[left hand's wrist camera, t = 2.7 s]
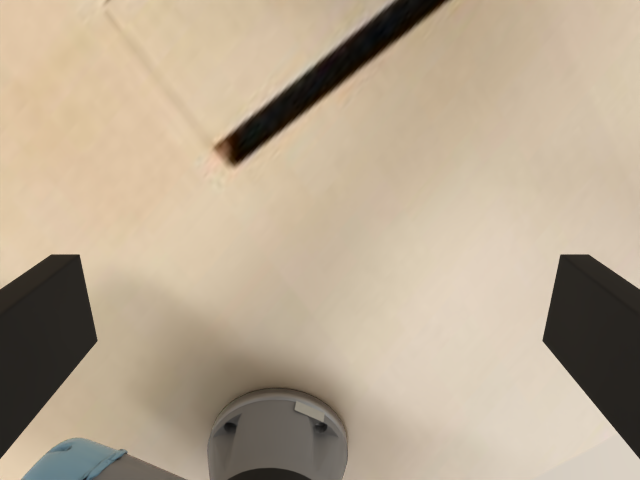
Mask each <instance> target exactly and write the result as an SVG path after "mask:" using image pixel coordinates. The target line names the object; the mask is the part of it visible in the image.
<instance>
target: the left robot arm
mask: <svg viewBox="0 0 640 480" xmlns="http://www.w3.org/2000/svg"><path fill="white" fill-rule="evenodd" d="M96 342H97V336H96V331H95V326H94V322H93V317H92V312H91V307H90V303H89V298H88V293H87V288H86V283H85V279H84V274H83V269H82V264H81V260H80V255H50V256H49V257H47V258H46V259H44V260H43V261H41V262H40V263H38V264H37V265H35V266H34V267H33V268H31V269H30V270H28V271H27V272H25V273H24V274H22V275H21V276H19V277H18V278H16V279H15V280H14V281H12V282H11V283H9V284H8V285H6V286H5V287H3V288H2V289H0V459H1V457H2V456H3V455H4V454H5V453H6V451H7V450H8V449H9V448H10V446H11V445H12V444H13V443H14V442H15V440H16V439H17V438H18V437H19V436H20V434H21V433H22V432H23V431H24V429H25V428H26V427H27V426H28V425H29V423H30V422H31V421H32V420H33V419H34V417H35V416H36V415H37V414H38V412H39V411H40V410H41V409H42V408H43V406H44V405H45V404H46V403H47V402H48V400H49V399H50V398H51V397H52V395H53V394H54V393H55V392H56V391H57V389H58V388H59V387H60V386H61V385H62V383H63V382H64V381H65V380H66V378H67V377H68V376H69V375H70V374H71V372H72V371H73V370H74V369H75V368H76V366H77V365H78V364H79V363H80V361H81V360H82V359H83V358H84V357H85V355H86V354H87V353H88V352H89V351H90V349H91V348H92V347H93V346H94V344H95V343H96ZM543 342H544V343H545V344H546V346H547V347H548V348H549V349H550V351H551V352H552V353H553V354H554V355H555V357H556V358H557V359H558V360H559V361H560V363H561V364H562V365H563V366H564V368H565V369H566V370H567V371H568V372H569V374H570V375H571V376H572V377H573V378H574V380H575V381H576V382H577V383H578V385H579V386H580V387H581V388H582V389H583V391H584V392H585V393H586V394H587V395H588V397H589V398H590V399H591V400H592V402H593V403H594V404H595V405H596V406H597V408H598V409H599V410H600V411H601V412H602V414H603V415H604V416H605V417H606V419H607V420H608V421H609V422H610V423H611V425H612V426H613V427H614V428H615V429H616V431H617V432H618V433H619V434H620V436H621V437H622V438H623V439H624V440H625V442H626V443H627V444H628V445H629V446H630V448H631V449H632V450H633V451H634V452H635V454H636V455H637V456H638V457H639V459H640V289H638V288H637V287H635V286H634V285H632V284H631V283H629V282H628V281H626V280H625V279H624V278H622V277H621V276H619V275H618V274H616V273H615V272H613V271H612V270H610V269H609V268H607V267H606V266H605V265H603V264H602V263H600V262H599V261H597V260H596V259H594V258H593V257H591V256H590V255H560V260H559V264H558V269H557V274H556V279H555V283H554V288H553V293H552V298H551V303H550V307H549V312H548V317H547V322H546V326H545V331H544V336H543ZM207 451H208V465H209V475H210V480H342V478H343V475H344V471H345V468H346V464H347V458H348V449H347V437H346V432H345V429H344V426H343V424H342V422H341V420H340V419H339V417H338V416H337V414H336V413H335V412H334V411H333V410H332V409H331V408H330V407H329V406H328V405H326V404H325V403H324V402H322V401H321V400H319V399H317V398H315V397H313V396H311V395H309V394H306V393H303V392H300V391H296V390H291V389H281V388H273V389H263V390H258V391H254V392H250V393H248V394H245V395H243V396H241V397H239V398H237V399H235V400H234V401H232V402H231V403H230V404H228V405H227V406H226V407H225V408H224V409H223V410H222V411H221V413H220V414H219V415H218V417H217V418H216V420H215V423H214V425H213V428H212V431H211V435H210V438H209V442H208V450H207ZM127 453H128V451H126V450H124V449H120V450H116V449H113V448H110V447H107V446H104V445H102V444H99V443H96V442H93V441H91V440H88V439H84V438H72V439H68V440H66V441H63V442H61V443H59V444H58V445H56V446H55V447H53V448H52V449H51V450H50V451H48V452H47V453H46V454H45V455H44V456H43V457H42V458H41V459H40V460H39V461H38V462H37V463H36V464H35V465H34V466H33V467H32V468H31V469H30V470H29V471H28V472H27V473H26V474H25V476H24V477H23V478H22V479H21V480H186V479H184V478H182V477H179V476H177V475H175V474H172V473H170V472H168V471H165V470H163V469H161V468H158V467H156V466H154V465H151V464H149V463H147V462H144V461H142V460H140V459H137V458H135V457H133V456H130V455H128V454H127Z"/></svg>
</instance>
